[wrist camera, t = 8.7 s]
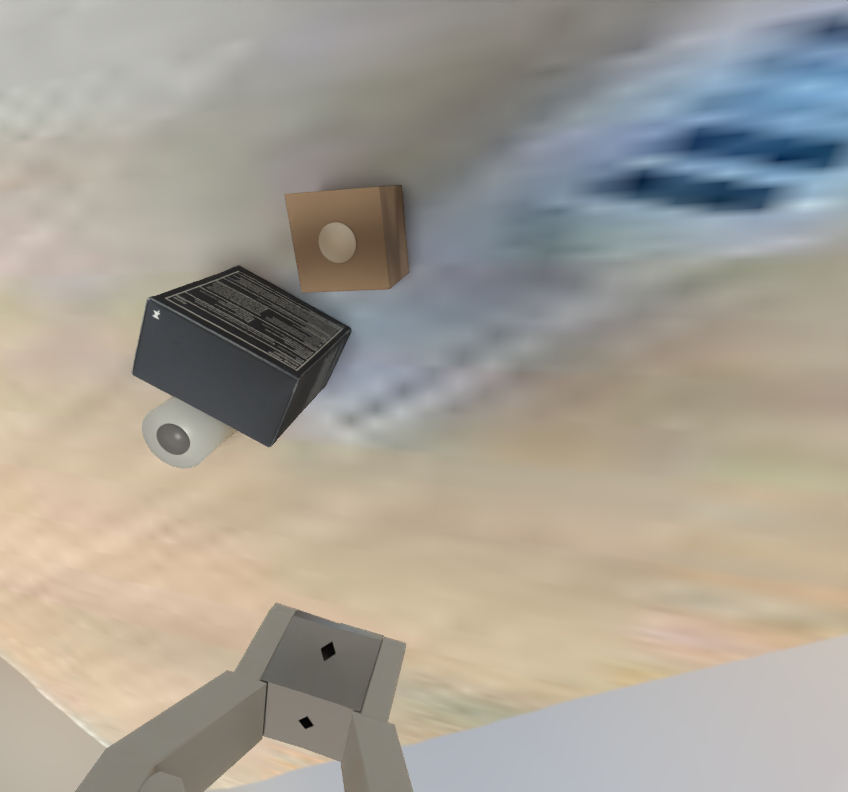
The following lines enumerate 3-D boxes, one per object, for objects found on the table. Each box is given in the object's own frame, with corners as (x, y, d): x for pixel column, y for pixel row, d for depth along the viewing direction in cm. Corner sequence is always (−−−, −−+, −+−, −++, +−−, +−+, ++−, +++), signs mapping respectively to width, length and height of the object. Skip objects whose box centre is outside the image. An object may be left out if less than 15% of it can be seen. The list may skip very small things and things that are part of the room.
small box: (215, 331, 41) (124, 377, 32) (236, 262, 38) (143, 290, 29) (325, 391, 41) (267, 454, 32) (354, 327, 39) (300, 376, 29)
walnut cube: (321, 191, 35) (283, 194, 29) (402, 185, 34) (378, 186, 28) (333, 275, 37) (300, 293, 32) (409, 272, 36) (388, 289, 30)
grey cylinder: (186, 372, 43) (137, 401, 38) (245, 386, 43) (204, 418, 37) (189, 425, 46) (143, 460, 40) (244, 440, 45) (205, 476, 40)
